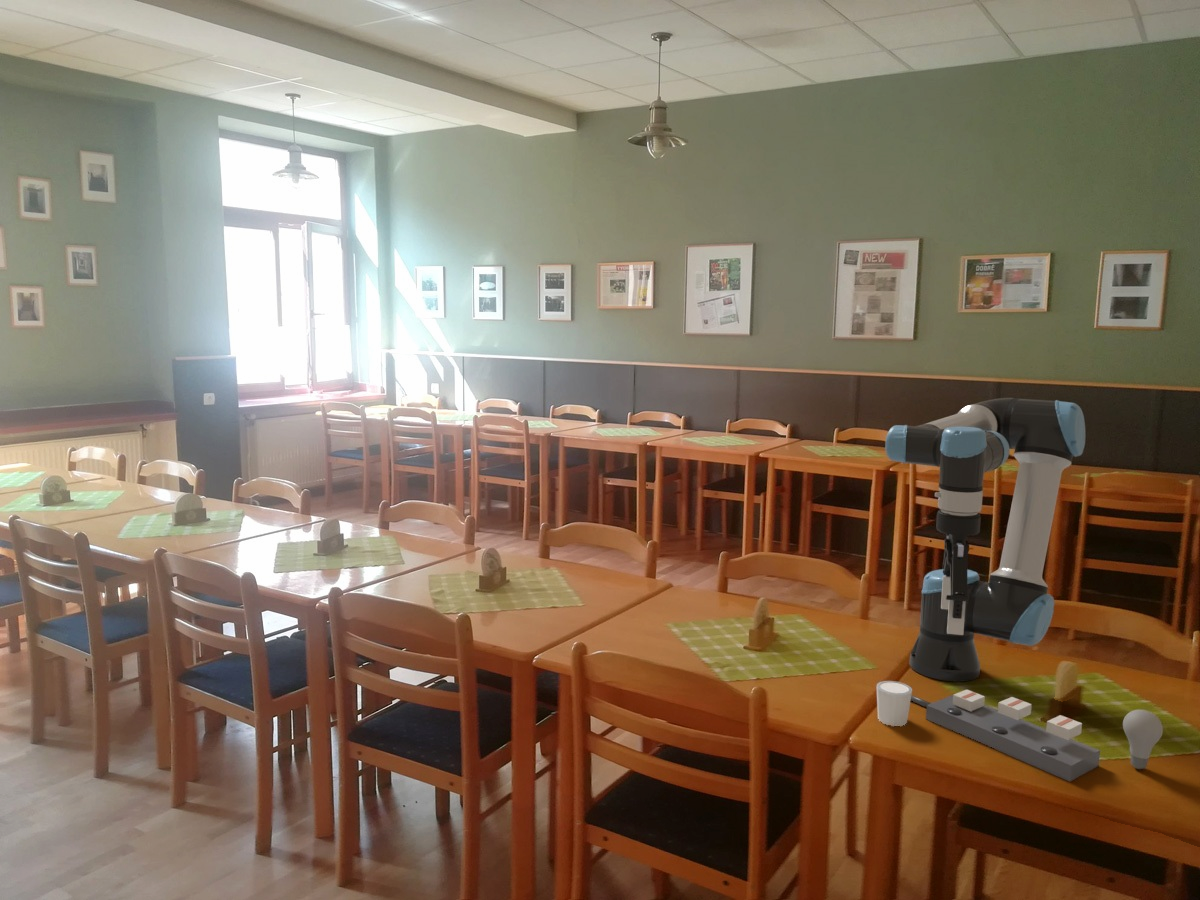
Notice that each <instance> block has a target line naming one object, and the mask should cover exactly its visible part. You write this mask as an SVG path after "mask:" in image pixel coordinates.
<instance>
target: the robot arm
mask: <svg viewBox="0 0 1200 900" xmlns="http://www.w3.org/2000/svg"><path fill="white" fill-rule="evenodd" d="M884 445H885V446H884V447H885V454H886V456H887V458H888V459H889V460H891V461H893V462H898V463H903V465H905V464H911V465H912V464H913V465H920V466H928V467H937V468H939V477H938V478H939V481H938V482H939V483H938V491H936V492H934V497H935V498H937V508H938V509H939V510H938V511H936V522H935V524H936V525H935V526H936V527H935V528H936V530H937V531H938V532H939V533H942V534H944V535H946V536H945V539H944V543H943V544H944V549H943V550H944V552H943V561H942V565H941V567H942V569H935V570H931V571H929V572H927V573H926V574H925V575H924V578H923V582H922V589H921V591H920V592H921V602H920V618H919V619H920V620H919V631H918V632H919V633H918V635H917V638H916V640H915V643H914V644H913V647H912V649H911V652H910V653H909V654H910V655H909V666H910V668H911V669H912V671H915V672H916V673H917V674H919V675H922V676H924V677H928V678H931V679H935V680H940V681H947V682H969V681H973V680H975V679H977V678H978V677H979V676H980V671H981V664H980V663H981V662H980V659H979V655H978V651H977V648H976V645H975V634H977V635H980V636H986V637H988V638H992V639H993V638H994V639H996V640H997V639H998V640H1001V641H1006V642H1009V643H1011V644H1018V645H1022V646H1023V645H1024V646H1029V647H1030V646H1031V647H1032V646H1036V645H1037V644H1038V643H1040V642H1041V640H1043V639H1044V637H1045V635H1046V633H1048V631H1049V630H1048V629H1049V627H1050V625H1051V622H1052V619H1053V615H1054V610H1055V608H1054V607H1055V599H1054V596H1052V595H1051V594H1050V593H1048V589H1049V586H1048V584H1047V583H1046V582H1045V580H1044V578H1043V572H1044V568H1045V567H1044V566H1045V563H1046V562H1045V561H1046V556H1047V552H1048V547H1049V546H1048V545H1049V541H1050V537H1051V531H1052V525H1053V520H1054V516H1055V510H1056V504H1057V499H1058V495H1059V488H1060V485H1061V478H1062V473H1063V471H1064V469H1067V468H1068V467H1070V466H1072V462H1073V457H1075V458H1076V457H1080V456H1082V455H1083V453H1084V449H1085V446H1086V423H1085V416H1084V413H1083V411H1082V408H1081V407H1080V406H1079V404H1077V403H1075V402H1068V401H1060V400H1058V399H1056V400H1052V399H1051V400H1050V399H1048V400H1046V399H1030V398H1016V397H1002V398H1001V397H1000V398H994V399H988V400H984V401H979V402H977V403H973V404H969V405H966V406H964V407H963V408H961V409H960V410H959V411H958V412H957V413H955V414H953V415H949V416H946V417H943V418H939V419H936V420H932V421H930V422H927V423H923V424H920V425H915V426H913V425H908V424H904V425H901V424H900V425H899V424H898V425H897V424H895V425H893V426H892V427H890V429H889V430H888V432H887V434H886V437H885V444H884ZM1010 450H1014V452H1013V457H1014V458H1015V460H1016V461H1017V462H1018V464H1019V466H1018V470H1017V475H1016V479H1015V485H1014V491H1013V496H1012V501H1011V505H1010V506H1011V507H1010V512H1009V516H1008V521H1007V526H1006V532H1005V537H1004V540H1003V541H1004V542H1003V548H1002V552H1001V558H1000V563H999V567H998V569H997V570H995V571H993V572H991V573H990V575H989V580H988V582H987V581H981V580H980V576H979V573H978V572H977V571H974V570H972V569H968V568H969V567H968V565H969V552H970V544H969V543H968V542H969V541H968V540H966V537H968V536H970V537H971V536H972V537H973V536H976V535H978V534H979V533H980V532H981V521H982V520H981V519H982V518H981V517H982V516H981V514H980V512H981V511H982V507H983V492H984V489H983V486H984V477H985V476H984V475H985V473H988V472H991V471H995V470H997V469H999V468H1000V466H1002V465H1003V464H1005V463H1006V462H1007V460H1008V458H1009V456H1010Z"/></svg>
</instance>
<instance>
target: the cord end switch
mask: <svg viewBox="0 0 1200 900" xmlns="http://www.w3.org/2000/svg"><path fill="white" fill-rule="evenodd" d="M952 695H953V704H954V705H956V706H958V707H961V708H963V709H966V710H968V711H973V710H976V709H978V708H980V707H983V706H984V705H985V699H986V696H985V695H982V694H980V693H977V692H974V691H972V690H969V689H965V690H962V691H959V692H957V693H953V694H952Z"/></svg>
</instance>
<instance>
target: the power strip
mask: <svg viewBox="0 0 1200 900" xmlns="http://www.w3.org/2000/svg"><path fill="white" fill-rule="evenodd" d="M953 695H954V694H952V695H950V696H949V695H948V696H947V697H944V698H942V699H939V700H937V701H933V702H930V701H928V700H925V699H922V698H920V697H918V696H915V695H913V694H911V700H910V702H912V701H913V703H915V704H918V705H920V706H921V707H922V706H923V707H925V708H926V712H925V720H927V719H928V720H927V721H929V722H930V723H933V722H934V724H936V725H938V726H940V725H941V726H940V727H943V728H945V729H948V730H950V731H952V730H953V731H952V732H954V731H955V732H954V733H956V732H957V734H959V733H960V734H959V735H961V734H962V735H961V736H963V735H964V736H963V737H966V738H968V737H969V738H968V739H970V738H971V740H973V739H974V740H973V741H975V740H976V741H975V742H977V741H978V742H977V743H979V742H981V743H980V744H982V743H983V744H982V745H984V744H985V745H984V746H986V745H988V746H987V747H989V748H991V747H992V748H991V749H993V748H994V749H993V750H996V751H999V752H1001V753H1003V754H1004V755H1007V756H1009V757H1012V758H1014V759H1016V760H1019V761H1021V762H1023V763H1026V764H1028V765H1029V766H1033V767H1034V768H1037V769H1040V770H1042V771H1044V772H1047V773H1049V774H1051V775H1053V776H1056V777H1058V778H1060V779H1063V780H1065V781H1067V782H1069V783H1070V782H1072V781H1074V780H1075V779H1077V778H1079V777H1081V776H1083V775H1084V774H1086V773H1089V772H1090V771H1092V770H1094V769H1095V768H1097V767H1099V766H1100V765H1099V764H1100V755H1101V750H1100V749H1098V748H1095V747H1093V746H1090V745H1087V744H1085V743H1082V742H1080V741H1077V740H1075V739H1074V738H1071V739H1069V740H1066V739H1064V738H1061V737H1059V736H1056V735H1054V734H1051V733H1048V732H1046V728H1044V727H1042V726H1040V725H1037V724H1035V723H1032V722H1029V721H1027V720H1024V719H1023V718H1021V719H1019V720H1016V719H1013V718H1011V717H1008V716H1006V715H1003V714H1001V713H998V708H993V707H991V706H989V705H986V704H984V706H983V707H980V708H978V709H976V710H973V711H968V710H966V709H963V708H961V707H958V706H956V705H954V704H953Z"/></svg>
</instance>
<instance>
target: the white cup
mask: <svg viewBox="0 0 1200 900" xmlns="http://www.w3.org/2000/svg"><path fill="white" fill-rule="evenodd" d="M875 688H876V707H877V709H876V710H877V720H878V719H879V720H878V721H879V722H880V721H881V722H882V723H881V722H880V723H881V724H883V725H885V724H886V726H888V725H891V726H890V727H894V726H900V727H903V725H904V726H906V725H907V724H908V719H909V711H910V707H911V701H910V700H911V695H913V688H912V687H911V686H909V685H908V684H906V683H904V682H900V681H895V680H894V681H893V680H883V681H879V682H878V683H876V687H875ZM906 723H907V724H906ZM905 724H906V725H905Z"/></svg>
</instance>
